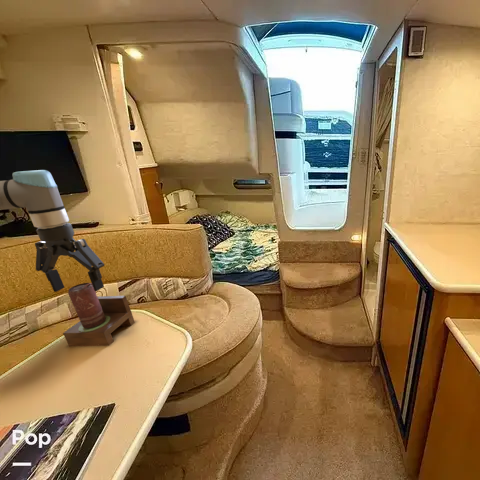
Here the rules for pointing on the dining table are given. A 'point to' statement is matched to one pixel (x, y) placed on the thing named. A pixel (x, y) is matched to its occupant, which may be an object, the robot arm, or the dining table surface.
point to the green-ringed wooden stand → (115, 316)
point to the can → (87, 305)
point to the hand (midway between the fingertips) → (79, 289)
